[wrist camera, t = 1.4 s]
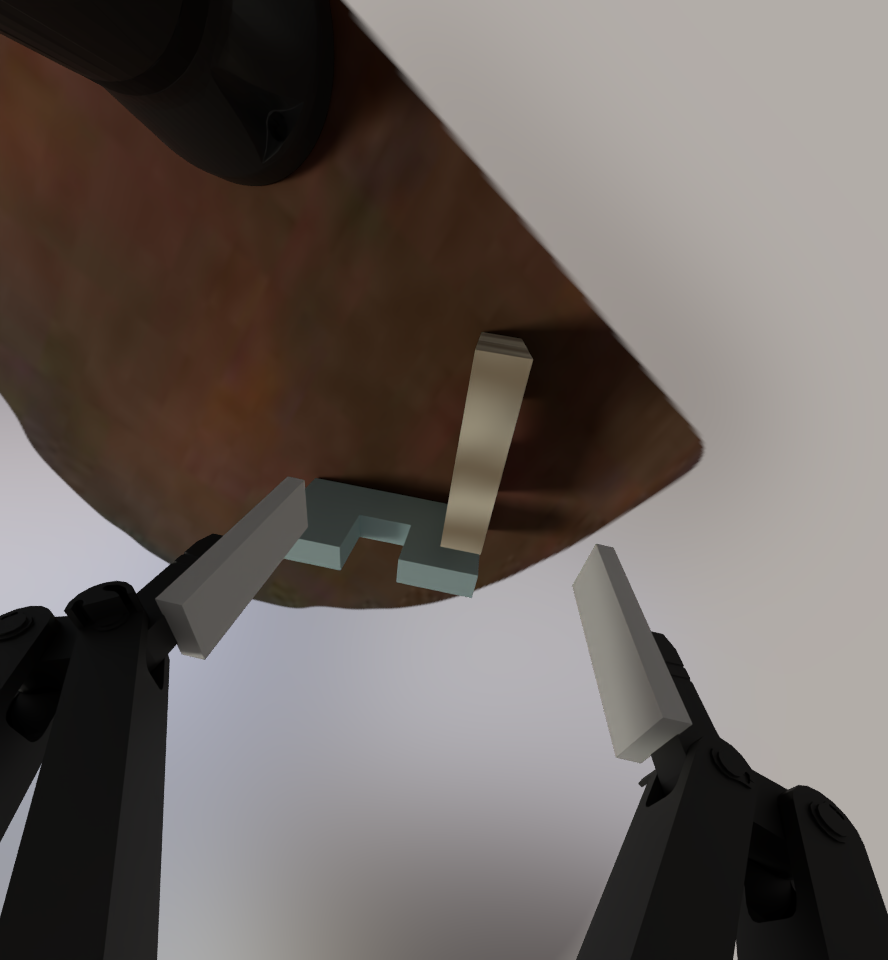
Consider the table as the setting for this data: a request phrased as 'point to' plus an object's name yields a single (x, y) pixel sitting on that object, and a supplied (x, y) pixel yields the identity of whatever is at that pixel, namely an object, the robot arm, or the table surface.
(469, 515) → the beige bar
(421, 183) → the table surface
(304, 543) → the base plate
